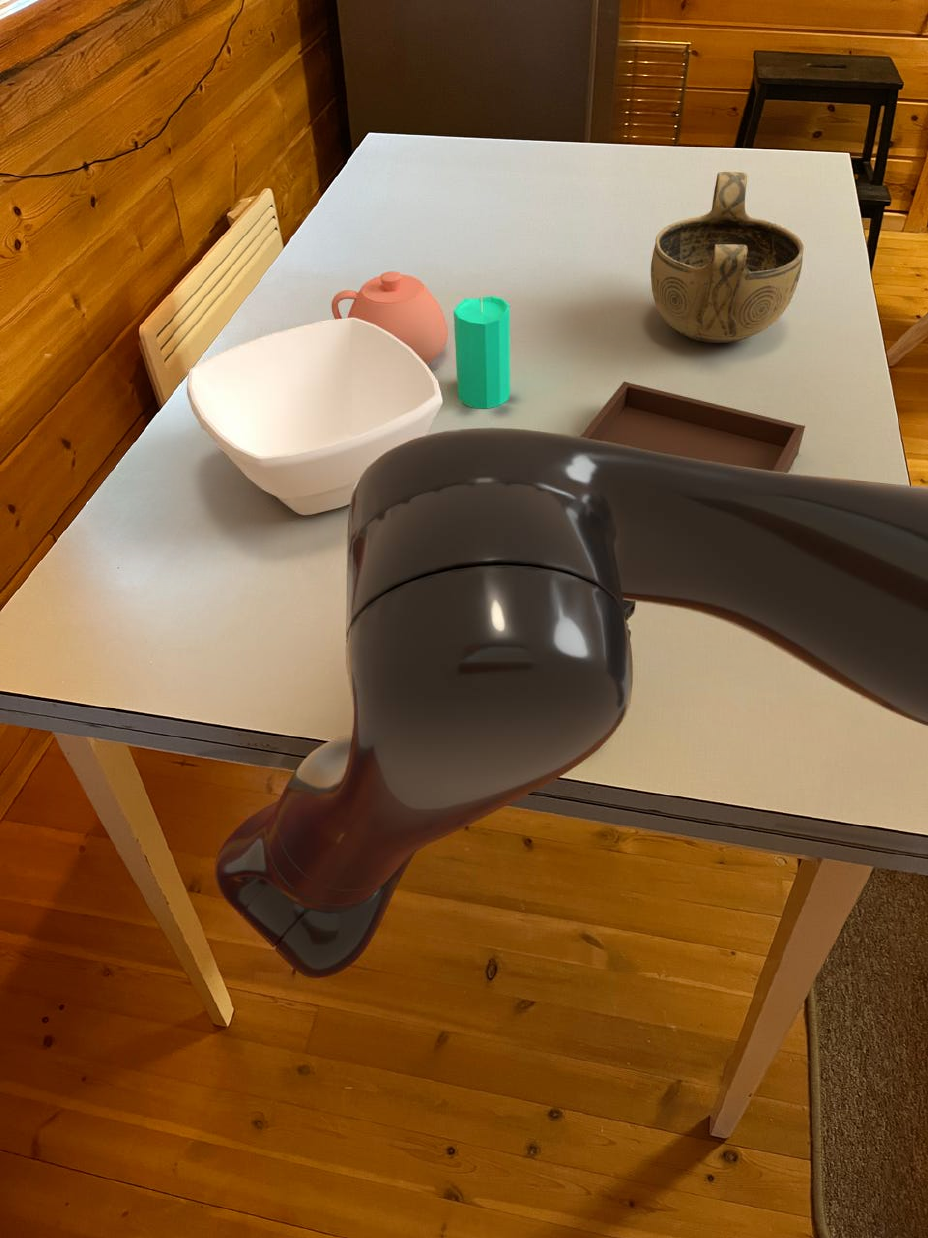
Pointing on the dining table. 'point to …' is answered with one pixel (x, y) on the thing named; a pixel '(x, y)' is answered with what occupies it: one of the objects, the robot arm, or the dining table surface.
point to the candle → (483, 351)
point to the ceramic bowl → (724, 269)
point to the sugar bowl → (400, 312)
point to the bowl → (313, 407)
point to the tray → (695, 429)
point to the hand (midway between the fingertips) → (598, 578)
